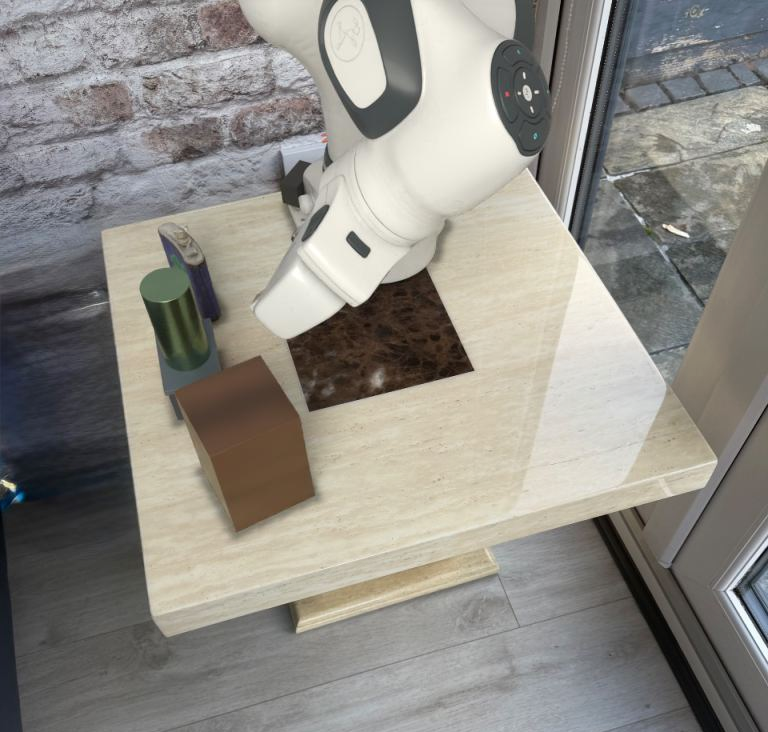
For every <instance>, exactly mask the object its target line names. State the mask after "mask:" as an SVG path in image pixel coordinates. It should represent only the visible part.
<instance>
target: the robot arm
mask: <svg viewBox="0 0 768 732" xmlns="http://www.w3.org/2000/svg"><path fill="white" fill-rule="evenodd" d="M237 2H238V5H239V8H240V10H241V12H242V14H243V16H244V18H245V19H246V21H247V22H248V24H249V25H250V27H251V28H252V29H253V30H254V31H255V33H257V34H258V36H259V37H261V38H262V39H263V40H264V41H266V42H267V43H269V44H270V45H272V46H275V47H276V48H279V49H281V50H282V51H284V52H286V53H288V54H289V55H290V56H292V57H293V58H294V59H296V61H298V62H299V63H300V64H301V66H303V68H304V69H305V71H307V73H308V74H309V76H310V78H311V79H312V81H313V82H314V85H315V87H316V90H317V93H318V95H319V99H320V104H321V110H322V115H323V119H324V121H323V122H324V127H325V133H322V134H320V137H321V138H322V137H325V138H324V139H322V140H321V143H322V144H325V147H324V154H323V156H321V157H320V158H318V159H316V160H315V161H313V162H309V161H305V160H302V159H299V160H298V161H297V162H296V163H295V164H294V166H292V168H291V169H290V170H289V172H288V173H287V174H286V175H285V176H284V177H283V179H281V181H280V182H279V187H280V194H281V201H282V203H283V204H285V205H288V209H289V212H290V215H291V217H292V220H293V223H294V225H295V227H296V228H295V229H294V232H293V233H292V235H291V237H290V241H291V244H290V245H289V247H288V249H287V251H286V252H285V254H284V256H283V258H282V259H281V261H280V263H279V264H278V266H277V268H276V269H275V271H274V273H273V274H272V276H271V277H270V278H269V281H268V283H267V284H266V286H265V287H264V289H262V290H260V292H259V293H257V294H256V295H255V297H254V298H253V299H252V302H251V303H250V305H249V309H250V311H251V312H252V313H253V315H254V317H255V318H256V319H257V320H258V321H259V322H260V323H261V324H262V325H263V326H264V328H266V329H267V330H268V331H269V332H271V333H272V334H274V335H275V336H277V338H280V339H282V340H291V339H293V338H295V337H298V336H299V335H302V334H304V333H306V332H308V331H310V330H311V329H313V328H314V327H316V326H318V325H320V324H321V323H323V322H325V321H327V320H328V319H330V318H331V317H333V316H334V315H335V314H336V313H338V312H339V311H340V310H341V309H343V307H344V306H346V304H348V305H349V306H351V307H352V308H356V307H359V306H360V305H362V304H364V303H365V302H366V301H368V300H369V299H370V297H372V295H373V293H374V292H375V291H376V290H377V289H378V287H379V286H380V285H381V284H391V283H396V282H400V281H403V280H406V279H409V278H411V277H413V276H415V275H417V274H419V273H420V272H421V271H423V270H424V269H425V268H426V267H427V266H428V265H429V264H430V263H431V261H432V260H433V258H434V256H435V253H436V250H437V241H438V237H439V235H440V234H441V233H442V231H443V230H444V228H445V225H446V220H448V219H449V218H454V217H458V216H461V215H464V214H466V213H468V212H470V211H472V210H474V209H475V208H476V207H478V206H479V205H481V204H482V203H484V202H485V201H486V200H488V199H489V198H491V197H492V196H494V195H496V194H497V193H498V192H499V191H500V190H502V189H504V188H505V187H506V186H507V185H509V184H510V183H511V182H512V181H513V180H515V179H516V178H517V177H518V176H519V175H521V174H522V173H523V172H524V171H525V170H526V169H527V168H528V167H529V166H530V165H531V164H532V163H533V162H534V161H535V160H536V158H537V157H538V156H539V154H540V153H541V152H542V150H543V148H544V147H545V145H546V144H547V143H546V142H547V140H548V137H549V135H550V132H551V128H552V118H553V108H552V107H553V105H552V98H551V92H550V87H549V84H548V81H547V78H546V75H545V73H544V71H543V68H542V66H541V65H540V62H539V61H538V59H537V57H536V56H535V55H534V54H533V48H534V43H535V35H536V18H535V11H534V6H533V1H532V0H237Z"/></svg>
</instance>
